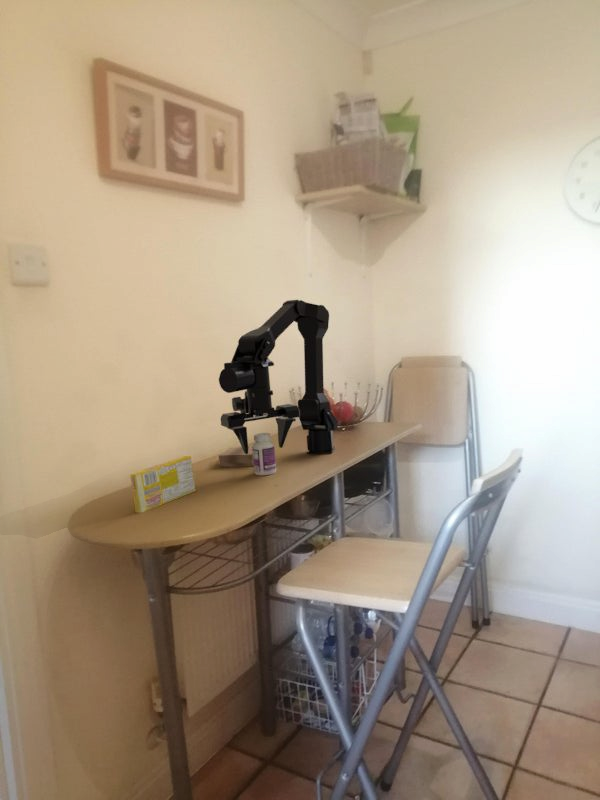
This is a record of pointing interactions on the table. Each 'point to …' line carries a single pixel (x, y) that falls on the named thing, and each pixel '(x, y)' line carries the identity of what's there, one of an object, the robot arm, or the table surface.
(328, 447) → the robot arm
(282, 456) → the table surface
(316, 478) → the table surface
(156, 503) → the candy box
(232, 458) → the tan flat square block
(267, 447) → the pill bottle
